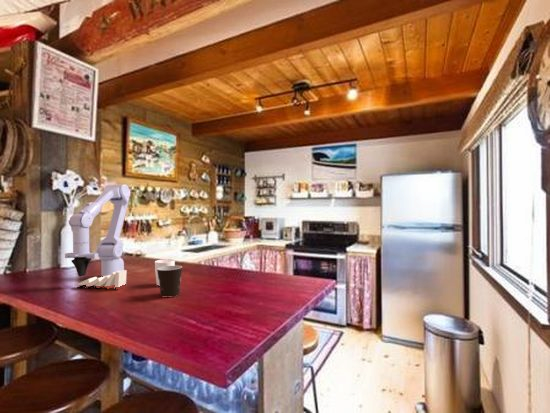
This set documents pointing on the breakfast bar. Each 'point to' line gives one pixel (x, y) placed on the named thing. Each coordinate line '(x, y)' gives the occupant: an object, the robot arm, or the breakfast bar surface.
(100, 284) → the domino
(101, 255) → the robot arm
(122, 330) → the breakfast bar surface
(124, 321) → the breakfast bar surface
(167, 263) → the white cup
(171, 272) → the coffee mug
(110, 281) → the domino
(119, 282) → the domino
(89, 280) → the domino
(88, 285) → the domino
